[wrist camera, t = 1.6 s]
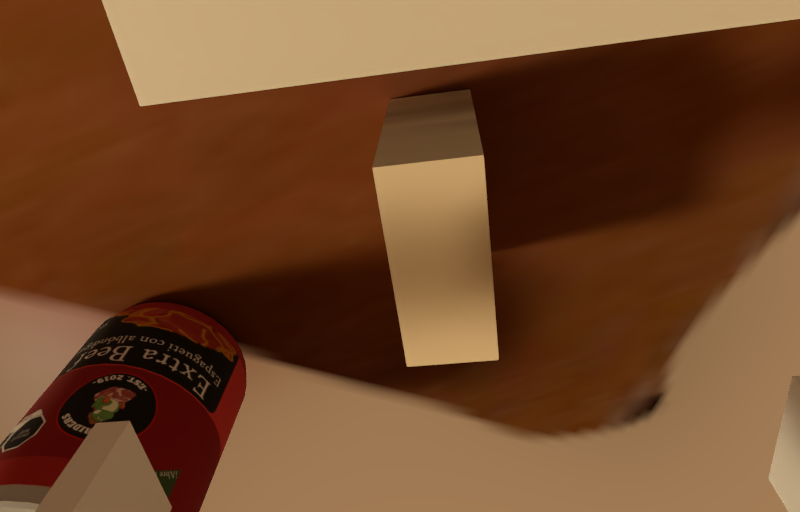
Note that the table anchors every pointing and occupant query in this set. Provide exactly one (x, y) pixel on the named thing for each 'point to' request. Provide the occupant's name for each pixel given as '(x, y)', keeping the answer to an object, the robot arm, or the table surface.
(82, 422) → the canned food
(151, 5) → the box
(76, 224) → the table surface
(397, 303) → the block
